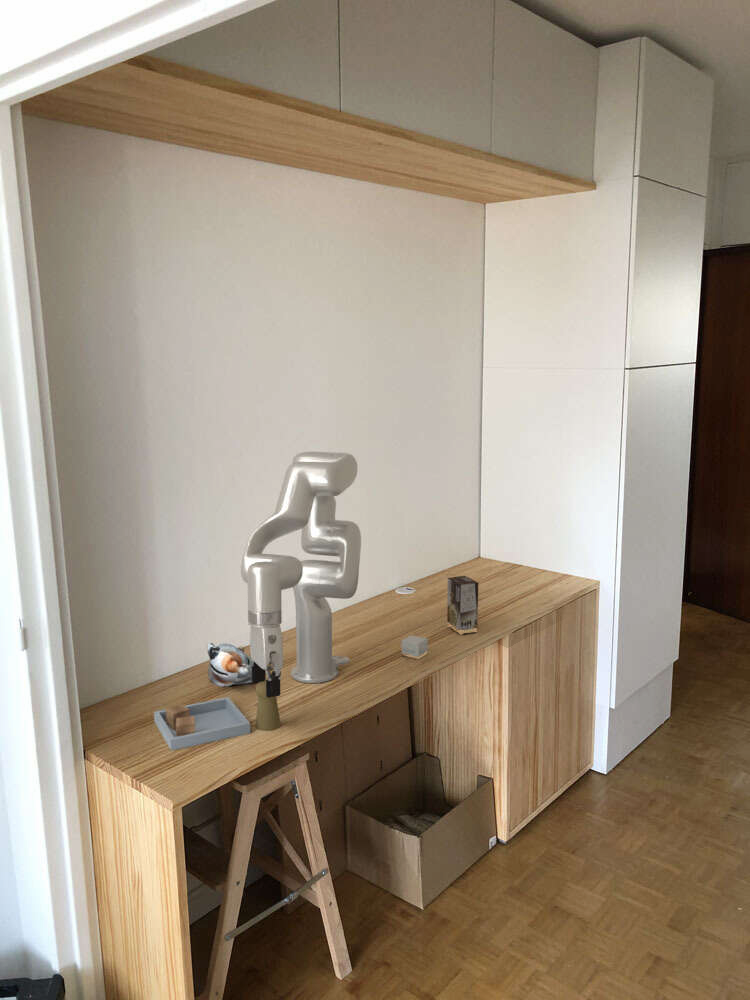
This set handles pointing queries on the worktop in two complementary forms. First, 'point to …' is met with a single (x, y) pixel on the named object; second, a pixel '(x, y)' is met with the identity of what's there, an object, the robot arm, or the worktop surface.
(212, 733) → the tray
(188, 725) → the walnut block
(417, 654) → the small box
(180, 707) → the walnut block
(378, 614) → the worktop surface
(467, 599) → the coffee box
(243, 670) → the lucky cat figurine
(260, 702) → the cork
